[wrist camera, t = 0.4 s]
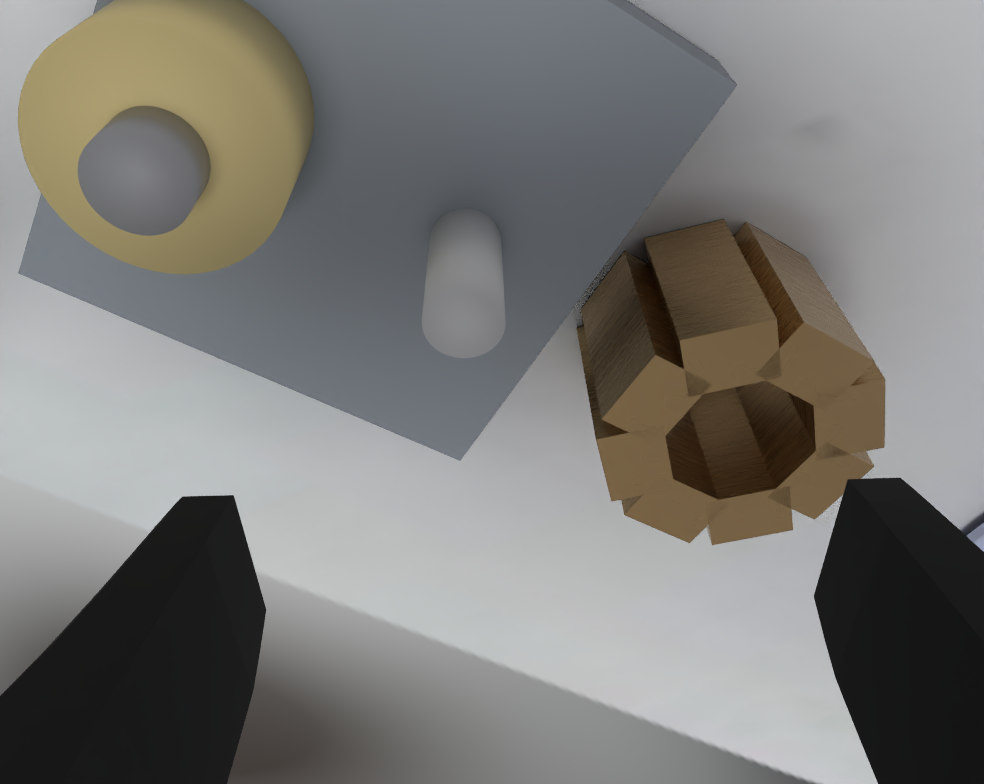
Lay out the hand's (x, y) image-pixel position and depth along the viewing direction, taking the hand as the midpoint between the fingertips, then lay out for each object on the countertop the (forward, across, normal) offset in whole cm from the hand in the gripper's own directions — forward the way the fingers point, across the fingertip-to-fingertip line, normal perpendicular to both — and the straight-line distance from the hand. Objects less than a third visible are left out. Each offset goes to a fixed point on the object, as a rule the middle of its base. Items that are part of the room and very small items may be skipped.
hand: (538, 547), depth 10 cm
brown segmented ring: (+10, -4, +3) cm, 11 cm away
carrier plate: (+9, +3, -1) cm, 10 cm away
